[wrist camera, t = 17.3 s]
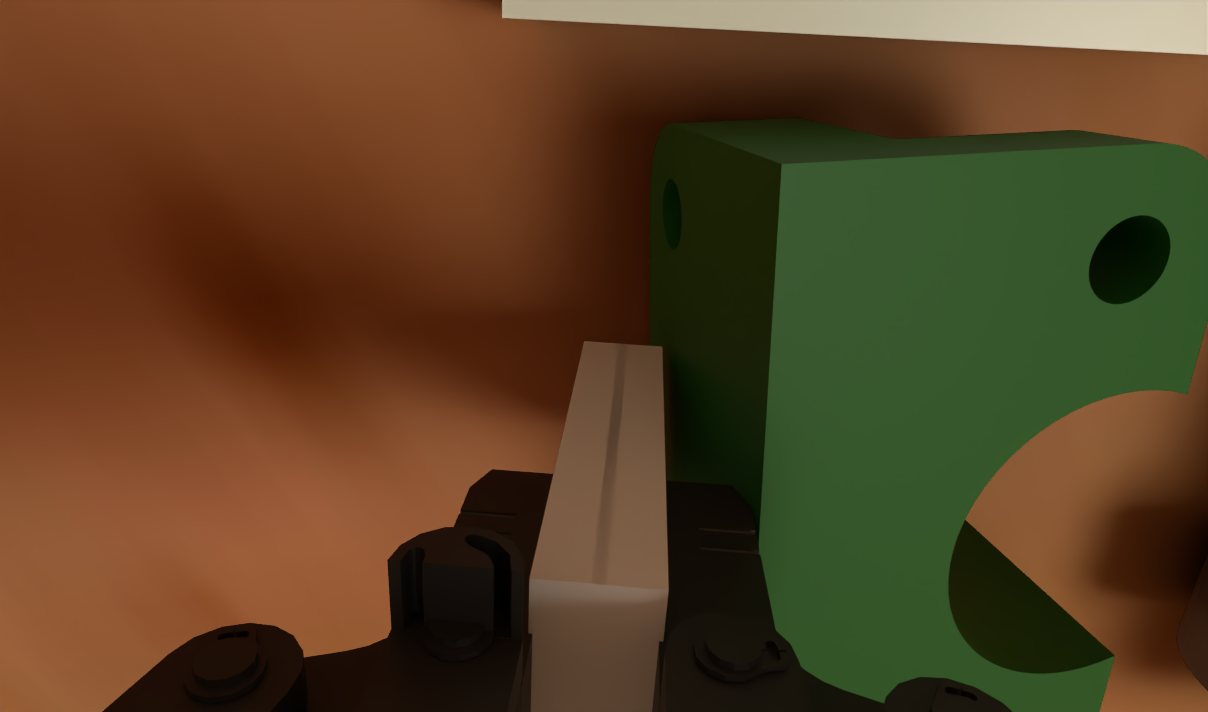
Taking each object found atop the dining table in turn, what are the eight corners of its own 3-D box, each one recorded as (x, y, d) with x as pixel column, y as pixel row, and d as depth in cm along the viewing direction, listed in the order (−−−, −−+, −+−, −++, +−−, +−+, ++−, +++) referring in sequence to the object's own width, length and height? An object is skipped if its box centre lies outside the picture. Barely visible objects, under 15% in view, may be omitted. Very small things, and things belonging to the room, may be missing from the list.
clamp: (837, 455, 21) (1027, 839, 15) (615, 482, 20) (720, 908, 14) (1036, -15, 13) (1665, 417, 6) (672, -9, 12) (1005, 514, 5)
